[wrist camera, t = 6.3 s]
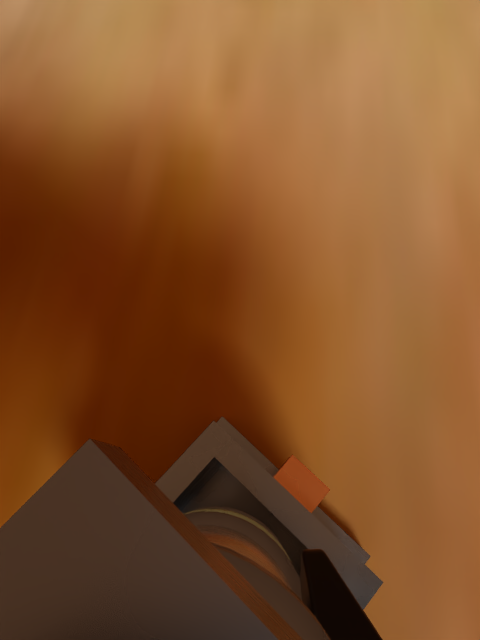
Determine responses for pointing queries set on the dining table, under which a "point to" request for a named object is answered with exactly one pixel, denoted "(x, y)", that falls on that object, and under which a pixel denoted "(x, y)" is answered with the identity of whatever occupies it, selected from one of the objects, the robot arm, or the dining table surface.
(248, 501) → the stand
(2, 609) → the column
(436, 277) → the dining table surface
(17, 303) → the dining table surface
